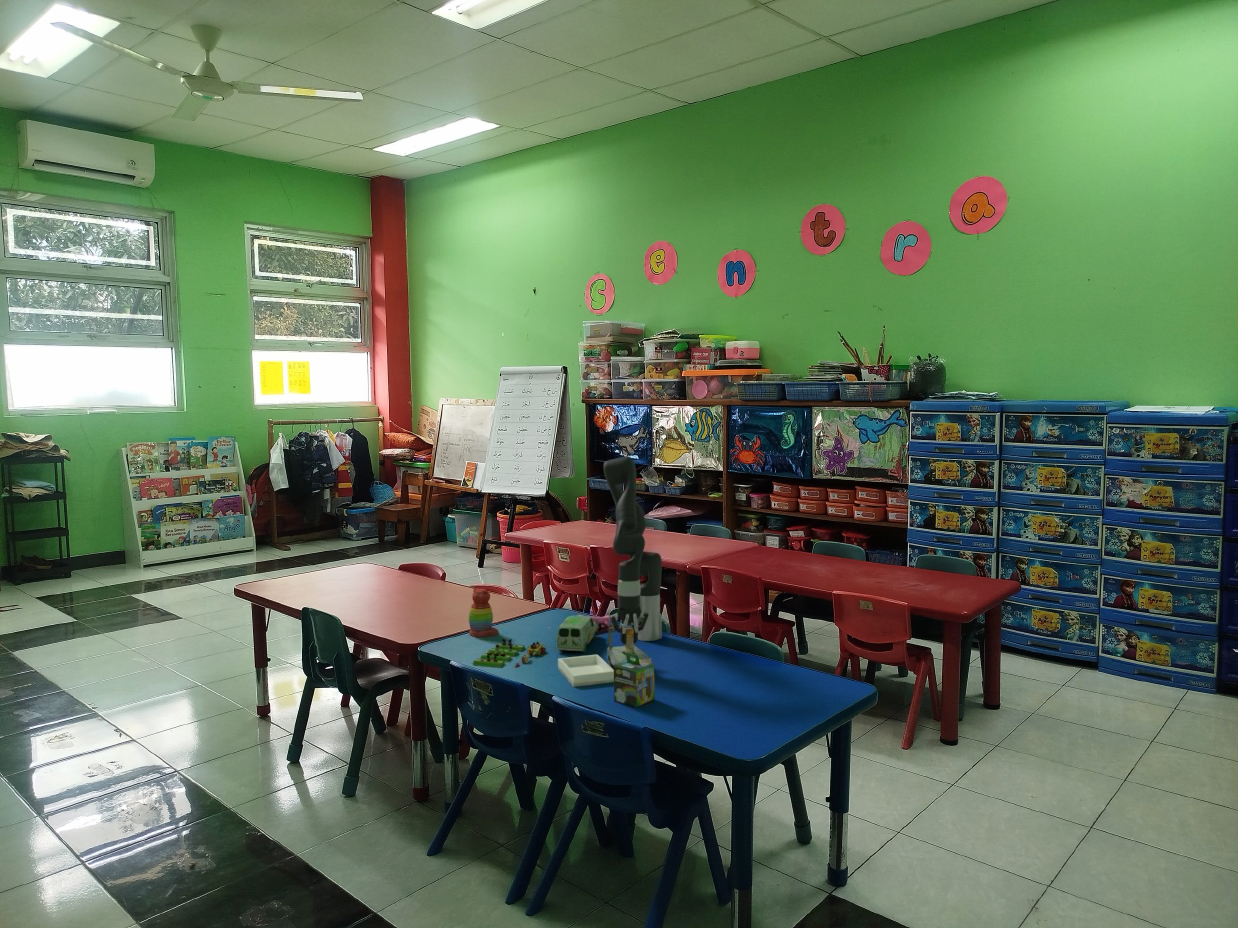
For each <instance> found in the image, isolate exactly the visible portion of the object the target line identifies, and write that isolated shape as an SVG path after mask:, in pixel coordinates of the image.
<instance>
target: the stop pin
mask: <svg viewBox="0 0 1238 928" xmlns="http://www.w3.org/2000/svg"><path fill="white" fill-rule="evenodd" d="M634 645H635V643H634V629H633V628H626V644H625V645H624V646H625V655H626V652H628V653H632V654H634Z"/></svg>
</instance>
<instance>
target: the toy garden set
mask: <svg viewBox="0 0 1238 928" xmlns="http://www.w3.org/2000/svg"><path fill="white" fill-rule="evenodd" d="M501 641H502V642H498V644H495V647H491V648H490V649H488V651H487V652H485V653H483V654H481V656H480V657H478V658H476V659H474V660H473V661H472V666H478V667H488V668H489V667H490V668H501V667H503V666H504V665H506V664H505V663H508V662H509V661H510V660H512V657H516V656H517V655H518V654H519V652H522V651H523V650H525V649H526V646H525V644H517V643H516V644H515V643H512V642H513V639H511V638H510V639H508V643H507V642H506V639H505V638H502V640H501ZM526 652H527V653H526V654H522V655H521V657H519V658H518V660H517V662H516V663H515V666H514V668H517V667H518V666H519V664H520V661H521V663H522V664H527V663H529V661H530V660H529V659H530V658H531V655H532V656H535V655H537V656H540V655H541V654H545V653H546V652H547V648H546V647H544V644H543V642H539V641H536V642H532V643H531V644H530V645H528V646H527V650H526Z"/></svg>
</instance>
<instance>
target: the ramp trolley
mask: <svg viewBox="0 0 1238 928" xmlns="http://www.w3.org/2000/svg"><path fill="white" fill-rule="evenodd" d="M619 628H620V627H619ZM626 628H632V625H627V627H626ZM613 632H617V631H616V630H615V629H614V627H611V628H609V632H608V647H607V648H606V660H607V664H608V665H609V666H610V667H611V668H614V665H615V664H617V663H620V662H621V661H624V660H627V658H626V655H625V645H622V646H613ZM634 654H636V655H638V658H639V660H644V661H649V662H652V658H651V657H650V656H649V655H648V654H646V653H645V652H644V651H642V650H641V649H640V648H639V647H638V646H636V645H635V644H634ZM630 658H634V657H632V656H631V657H630ZM634 659H635V658H634Z"/></svg>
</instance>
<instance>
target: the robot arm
mask: <svg viewBox="0 0 1238 928" xmlns="http://www.w3.org/2000/svg"><path fill="white" fill-rule="evenodd" d="M603 474H604V477H605V479H606V483H607V485H608V488H609V490H610V494H611V495H612V499H613V502H614V504H615V521H616V529H615V535H614V539H613V543H612V547H613V548H612V549H613V551H614V553H615V554H617V555H619V556H628V558H629V560H623V561H621V562H619V564H618V581H617V582H618V583H617V610H616V613H613V614H610V615H608V616H609V617H610V620H611V621H610V623H612V624H613V626H614V629H615V630H616V631H615V632H617V633H618V634H619V633H620V636H619V637H620V639H619V640H620V642H621V644H622V645H623V646H625V644H626V627H627V626H628V624H631V626H632V628H633V629H634V644H637V642H638V641H642V642H644V641H645V642H651V641H657V640H661V639H662V638H663V637H662V636H663V635H662V631H663V629H662V624H663V623H662V620H663V619H662V617H663V616H662V613H661V612H660V611H661V605H660V604H661V602H660V600H661V599H660V598H661V597H660V595H661V594H660V593H661V585H662V570H663V568H662V567H663V561H662V556H661V554H660V553H659V552H654V551H645V546H646V541H645V537H644V536H643V535H644V533H645V530H646V527H647V523H646V517H645V514H644V511H643V508H642V507H641V505H640V504H639V503H638V502H637V501H636V498H637V469H636V464H635V462H634V459H633V458H632V457H631V456H623V457H618V458H614V459H608V460H606V461H604V463H603ZM622 484H623V485H624V484H626V485H625V489H624V491H623V489H622V488H621V486H620V485H622ZM640 576H641V577H642V576H643V577H647V581H646V582H644V583H641V582H640ZM618 618H619V620H620V625H619V623H618ZM619 626H620V628H619Z"/></svg>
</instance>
